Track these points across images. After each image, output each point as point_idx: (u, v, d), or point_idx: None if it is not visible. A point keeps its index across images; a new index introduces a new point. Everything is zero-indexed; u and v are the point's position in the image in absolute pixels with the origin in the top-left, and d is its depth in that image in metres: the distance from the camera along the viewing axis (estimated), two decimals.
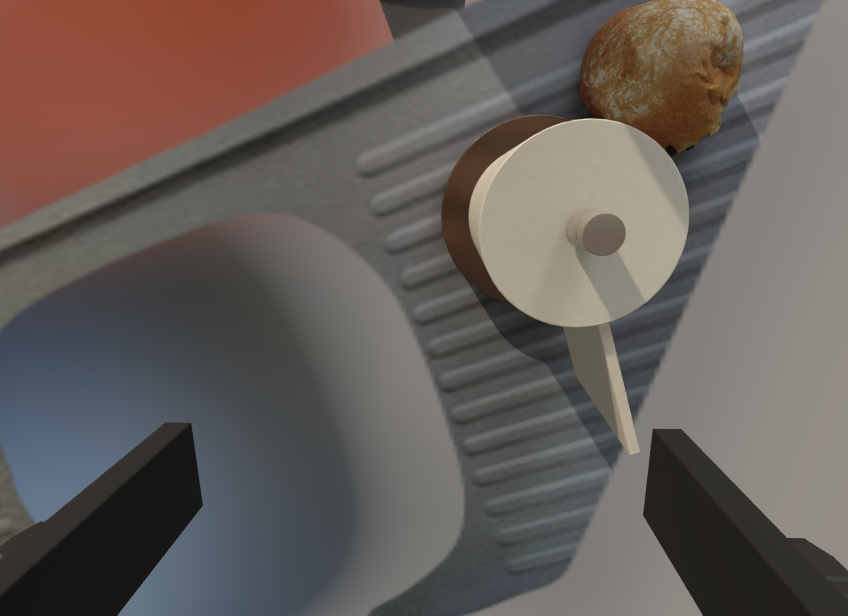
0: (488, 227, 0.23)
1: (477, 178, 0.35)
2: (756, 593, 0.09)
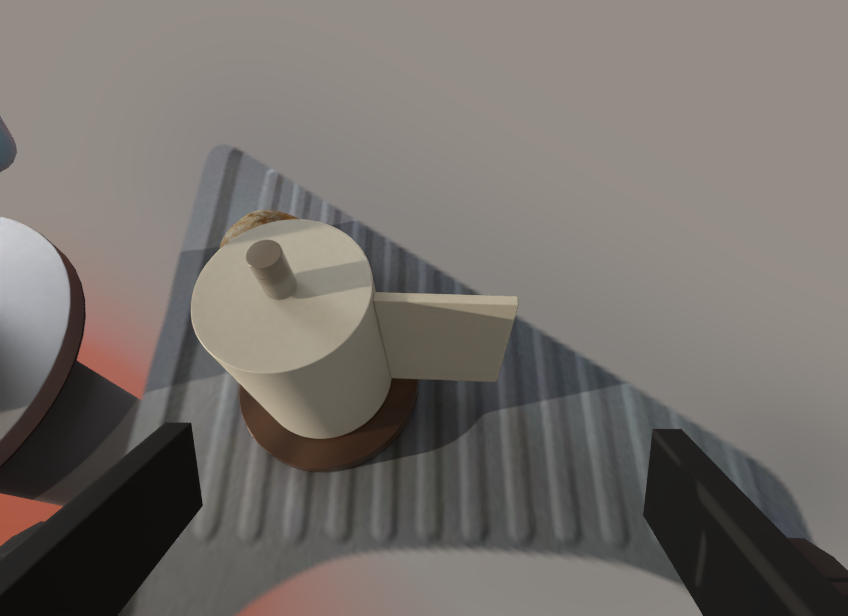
0: (237, 359, 0.24)
1: (271, 416, 0.36)
2: (756, 594, 0.09)
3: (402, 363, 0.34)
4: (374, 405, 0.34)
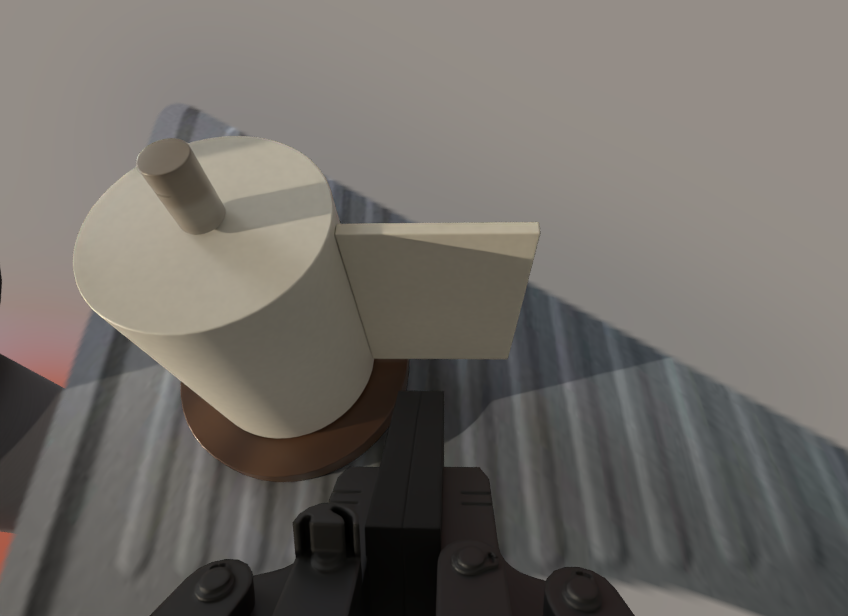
0: (133, 317, 0.16)
1: None
2: None
3: (384, 336, 0.26)
4: (351, 392, 0.26)
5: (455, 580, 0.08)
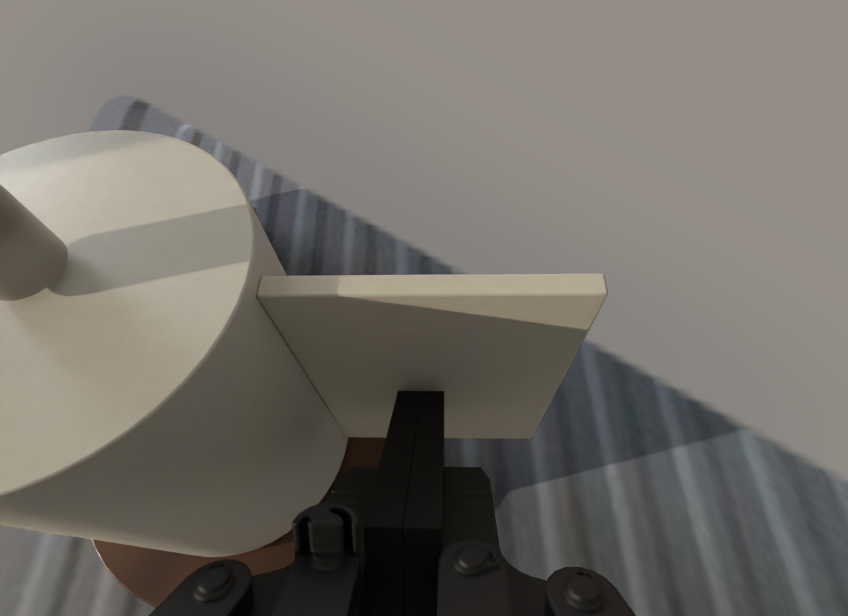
0: None
1: None
2: None
3: (359, 415, 0.18)
4: (312, 494, 0.19)
5: (456, 580, 0.08)
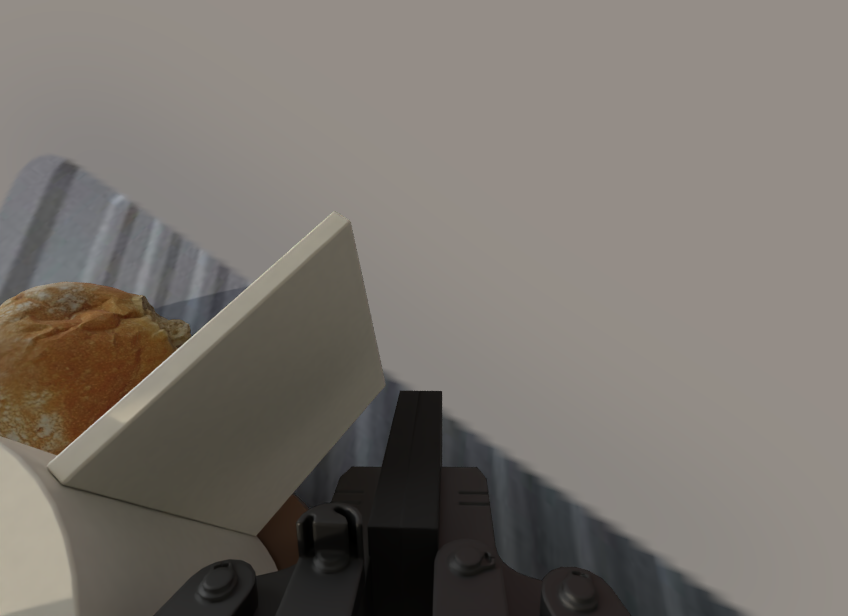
0: None
1: None
2: None
3: (251, 504, 0.17)
4: None
5: (452, 580, 0.08)
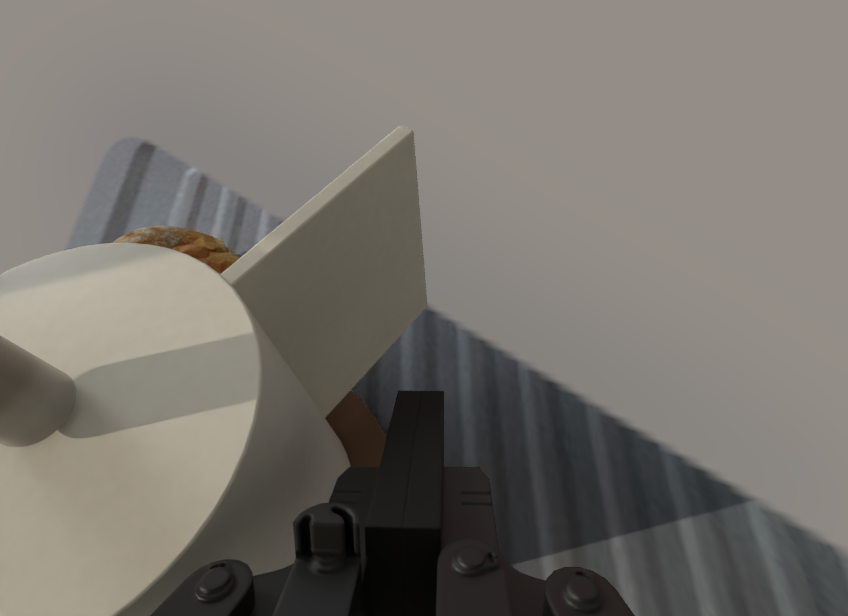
0: (88, 607, 0.09)
1: None
2: None
3: (325, 379, 0.21)
4: (345, 461, 0.21)
5: (455, 580, 0.08)
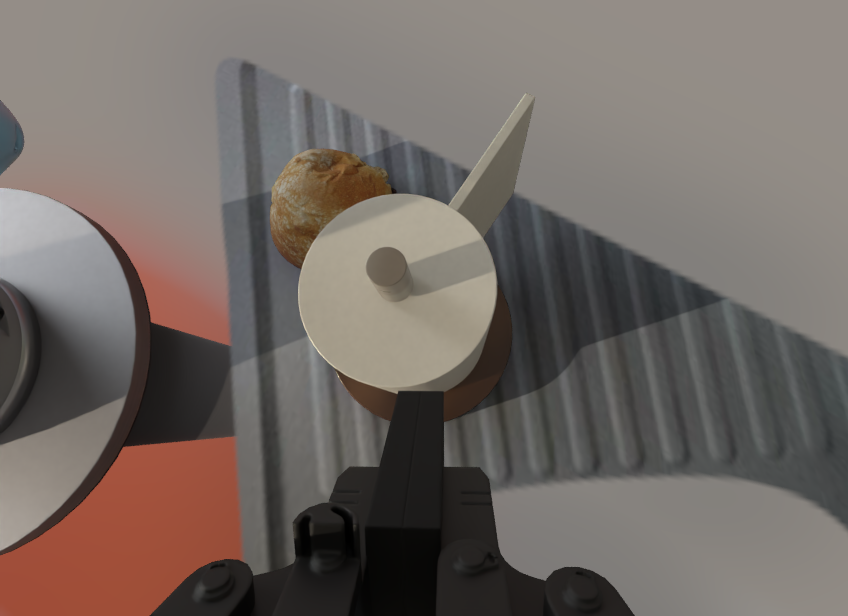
0: (453, 357, 0.23)
1: None
2: None
3: None
4: None
5: (455, 580, 0.08)
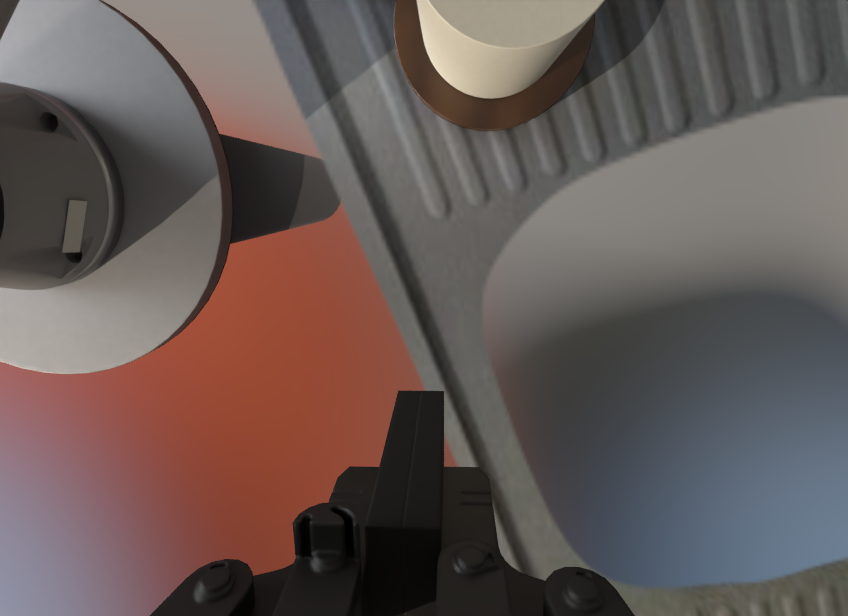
0: None
1: (454, 90, 0.34)
2: None
3: None
4: None
5: (455, 580, 0.08)
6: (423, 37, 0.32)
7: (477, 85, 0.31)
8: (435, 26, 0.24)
